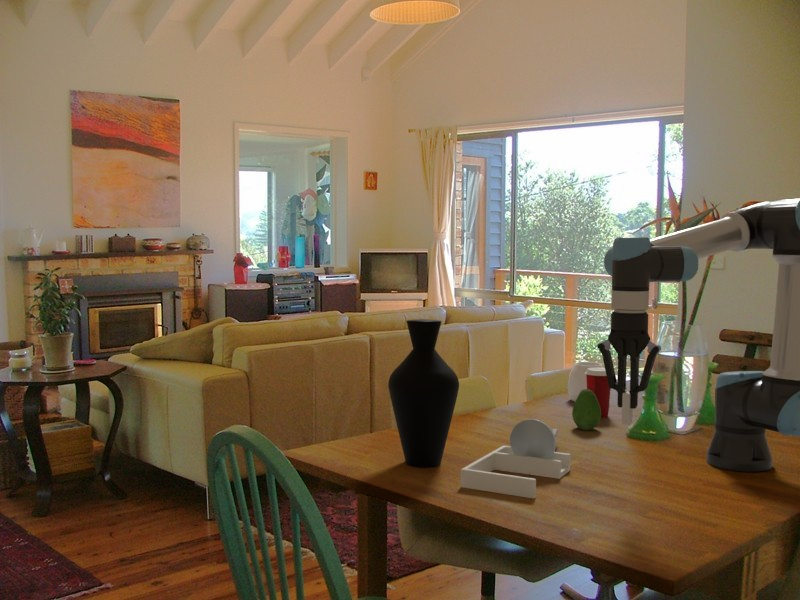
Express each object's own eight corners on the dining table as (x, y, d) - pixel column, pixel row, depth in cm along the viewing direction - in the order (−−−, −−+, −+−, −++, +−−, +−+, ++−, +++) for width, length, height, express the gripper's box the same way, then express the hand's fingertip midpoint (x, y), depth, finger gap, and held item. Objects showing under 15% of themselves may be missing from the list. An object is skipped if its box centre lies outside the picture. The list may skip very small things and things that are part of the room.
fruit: (591, 426, 249) (592, 385, 248) (606, 432, 241) (606, 390, 241) (567, 428, 246) (567, 387, 246) (581, 434, 239) (581, 391, 238)
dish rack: (570, 470, 201) (570, 453, 201) (534, 498, 179) (534, 479, 179) (503, 461, 209) (503, 445, 209) (460, 487, 187) (461, 469, 187)
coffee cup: (615, 416, 263) (616, 368, 262) (606, 421, 256) (607, 372, 255) (589, 413, 267) (590, 366, 266) (579, 418, 260) (580, 369, 259)
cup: (562, 400, 289) (563, 361, 288) (600, 399, 291) (600, 360, 290) (574, 407, 276) (575, 366, 275) (613, 407, 277) (614, 366, 277)
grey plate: (555, 467, 199) (556, 421, 198) (553, 468, 198) (554, 422, 197) (511, 461, 204) (512, 416, 204) (509, 462, 203) (510, 417, 203)
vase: (376, 469, 202) (377, 322, 199) (403, 452, 217) (403, 316, 215) (445, 477, 195) (446, 325, 193) (467, 459, 211) (468, 319, 209)
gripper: (665, 311, 176) (662, 423, 178) (603, 308, 183) (601, 416, 184) (658, 313, 170) (654, 430, 171) (593, 310, 176) (591, 423, 178)
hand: (627, 423), depth 178 cm, fingers closed
